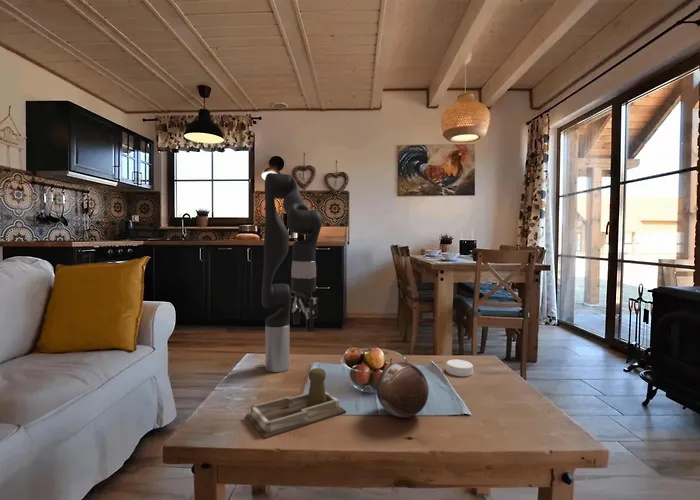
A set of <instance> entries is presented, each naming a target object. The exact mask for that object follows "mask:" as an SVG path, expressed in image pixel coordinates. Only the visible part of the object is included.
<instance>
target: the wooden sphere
mask: <svg viewBox="0 0 700 500" xmlns="http://www.w3.org/2000/svg"><path fill="white" fill-rule="evenodd" d="M429 395H430V394H429V384H428V380H427V378H426V376H425V374H424V373H423V372H422V370H420V369H419V368H418V367H417V366H416V365H413V364H411V363H409V362H406V361H405V362H404V361H400V362H398V361H397V362H394V363H391V364H389V365H387V366H386V367H385V368H384V369H383V370H382V371H381V372H380V374H379V376H378V378H377V381H376V396H377V399H378V402H379V403H380V405H381V406H382V408H383V409H384V410H385V411H386V412H387V413H388V414H390V415H392V416H395V417H398V418H411V417H413V416H416V415H417V414H418V413H420V412H421V411H422V410H423V409H424V407H425V405H426V404H427V403H428V399H429Z"/></svg>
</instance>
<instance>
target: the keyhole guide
mask: <svg viewBox="0 0 700 500" xmlns="http://www.w3.org/2000/svg"><path fill="white" fill-rule="evenodd" d="M325 393H326V401H327V402H325V403H322V404H318V405H315V406H311V407H307V403H308V396H309V392H306V393H303V394H299V395H296V396H292V397H291V396H290V395H287V396H285V397H281V398H276V399H273V400H269V401H266V402H262V403H258V404H254V405H251V406H250V413H246V418H247V419H248V420H249V422H250V423H251V424H252V426H253V427H254V428H255V429H256V430H257V431H258V433H259V434H260V436H262V438H263V439H264V440H265V439H268V438H271V437H275V436H277V435H280V434H284V433H287V432H290V431H293V430H296V429H300V428H302V427H305V426H308V425H311V424H316V423H318V422H321V421H324V420H327V419H330V418H333V417H336V416H340V415H343V414H346V413H347V410H346V409H345V408H343V407H342V406H340V400H339V399H338V398H336V397H335V396H334V395H332V394H330V393H329V392H328V391H326V390H325Z"/></svg>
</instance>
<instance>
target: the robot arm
mask: <svg viewBox="0 0 700 500" xmlns="http://www.w3.org/2000/svg"><path fill="white" fill-rule="evenodd" d="M297 183H298V182H297V180H296V179H295V177H294V175H291V174H288V173H286V174H285V173H278V172H277V173H276V172H268V173H267V174H266V176H265V179H264V207H265V208H264V210H265V211H264V213H265V214H264V215H265V217H264V221H265V222H264V232H263V233H264V235H263V271H262V272H263V275H262V283H261V294H260V295H261V304H262V307H263V308H265V309H278V310H277V311H276V312H275V313H273V314H271V315H268V316H267V317H266V318H265V322H264V323H265V324H264V325H265V361H264V363H265V369H264V370H265V371H267V372H270V373H281V372H285V371H287V370H289V369H290V319H291V313H292V315H293V316H292V318H293V319H292V324H293V325H294V326H297V325H300V324H301V311H302V312H303V314H304V315H305V318H306V319H305V321H306V322H305V323H306V324H305V331H306V332H308V333H309V332H313V331H314V330H315V329H314V327H315V326H314V324H315V319H317V318H318V319H319V298H318V297H316V296H315V297H313V292H316V290H317V264H316V249H317V243H318V240H319V236H320V232H321V230H322V225H323V219H322V218H323V217H322V215H321V213H320V212H319V211H317V210H311V209H310V210H309V207H308V204H307V203H306V202H305V201H304V199H303V198H302V196H301V193H300V190H299V189H300V188H299V186H298V184H297ZM275 199H276V200H277V199H279V200H283V201H282V206H283V210H284V212H285V213H286V216H287V219H286V225H285V223H284V222H283V221H282V218H281V217H280V215H279V212H278V210H277V207H276V201H275ZM287 228H288V229H287ZM288 230H289V231H290V232H291V233H294V234H307V237H306V238H305V239H303V240H298V241H294V243H292V255H291V256H292V261H291V262H292V263H291V269H290V270H291V272H290V273H291V274H290V275H291V276H290V277H291V280H290V281H291V282H290V285H291V286H290V285H289V284H288V283H273V280H274V277H275V274H276V273H277V271H278V268H279V267H280V266H281V264H282V263H283V262H284V259H285V258H286V257H287V255H288V254H289V253H288V252H289V247H290V246H289V245H290V243H289V242H290V234H289V231H288Z"/></svg>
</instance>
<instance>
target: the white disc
mask: <svg viewBox="0 0 700 500" xmlns="http://www.w3.org/2000/svg"><path fill="white" fill-rule="evenodd" d="M445 364H446V365H445V368H446V369H445V370H446V372H447V373H448V374H449V375H452V376H455V377H470V376H472V375H473V373H474V365H473V364H472V363H471V362H469V361H467V360H463V359H449V360H447V361H446V363H445Z"/></svg>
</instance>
